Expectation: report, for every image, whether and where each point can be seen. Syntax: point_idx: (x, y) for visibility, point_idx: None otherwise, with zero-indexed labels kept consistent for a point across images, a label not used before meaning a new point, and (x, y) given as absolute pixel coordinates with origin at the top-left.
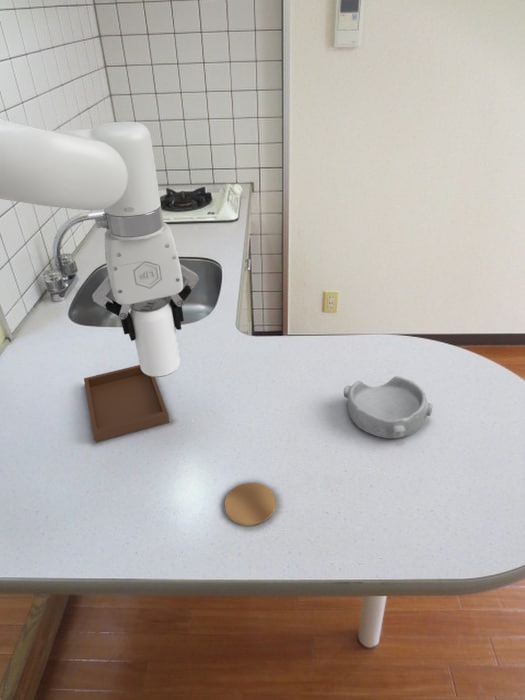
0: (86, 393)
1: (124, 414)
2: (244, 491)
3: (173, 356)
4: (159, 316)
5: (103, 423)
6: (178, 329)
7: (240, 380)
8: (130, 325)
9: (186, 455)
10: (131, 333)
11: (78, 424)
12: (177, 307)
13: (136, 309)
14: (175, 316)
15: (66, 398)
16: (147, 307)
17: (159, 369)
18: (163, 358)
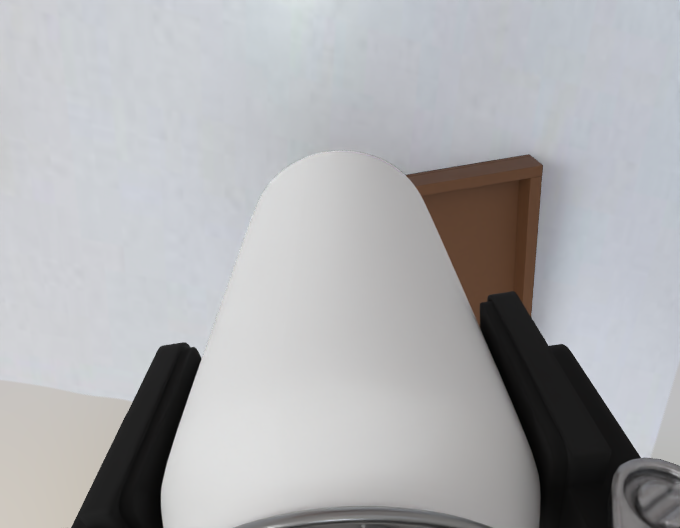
0: (531, 307)
1: (449, 234)
2: None
3: (260, 212)
4: (259, 435)
5: (502, 214)
6: (179, 343)
7: (165, 291)
8: (551, 388)
9: (305, 47)
10: (526, 329)
11: (556, 227)
12: (90, 523)
13: None
14: (150, 435)
15: (565, 313)
16: None
17: (344, 163)
18: (313, 190)
